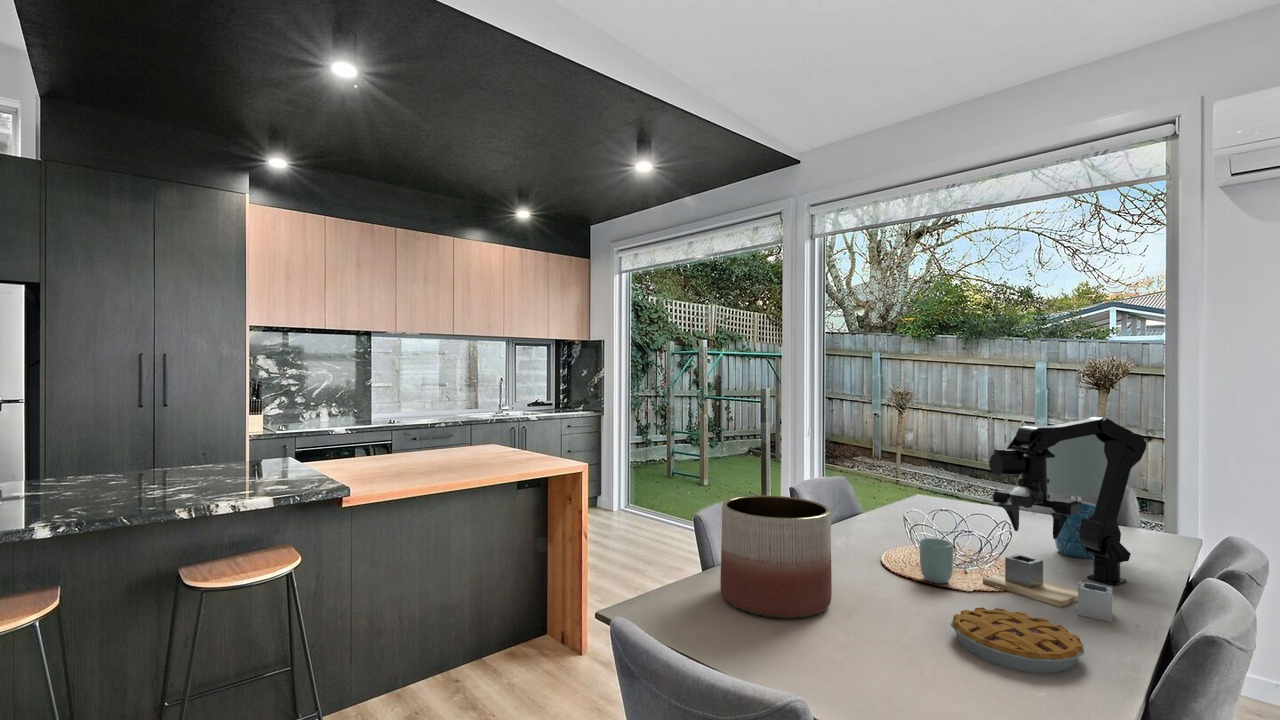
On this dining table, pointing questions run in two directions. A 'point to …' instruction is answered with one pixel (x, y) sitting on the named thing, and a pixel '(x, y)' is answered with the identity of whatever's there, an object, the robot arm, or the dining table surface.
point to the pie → (1017, 640)
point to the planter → (776, 555)
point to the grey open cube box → (1095, 601)
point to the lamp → (1076, 485)
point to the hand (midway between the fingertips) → (1035, 534)
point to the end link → (1024, 571)
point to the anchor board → (1037, 590)
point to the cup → (936, 559)
